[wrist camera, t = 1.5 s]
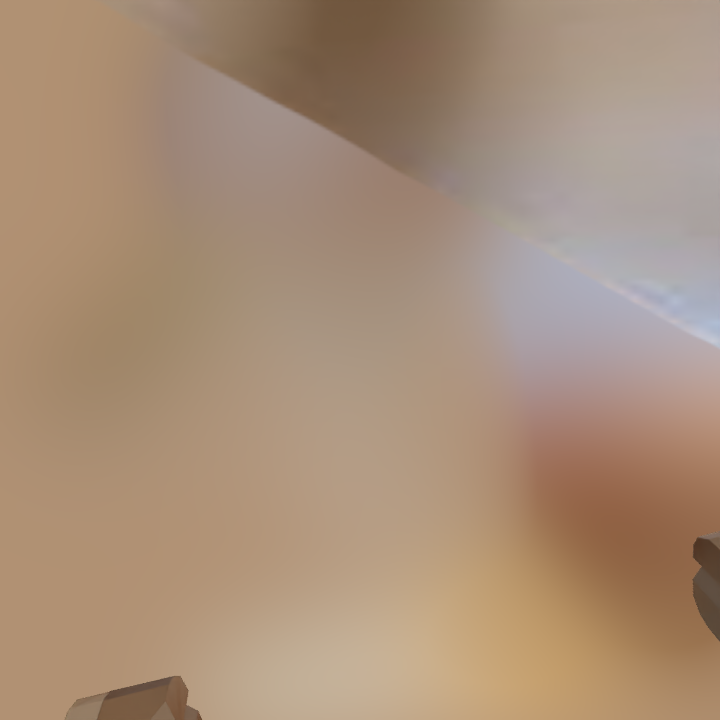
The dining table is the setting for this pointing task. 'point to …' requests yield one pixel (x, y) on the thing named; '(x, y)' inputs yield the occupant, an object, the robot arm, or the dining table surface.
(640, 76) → the dining table surface
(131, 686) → the robot arm
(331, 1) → the dining table surface
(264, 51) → the dining table surface
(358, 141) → the dining table surface
